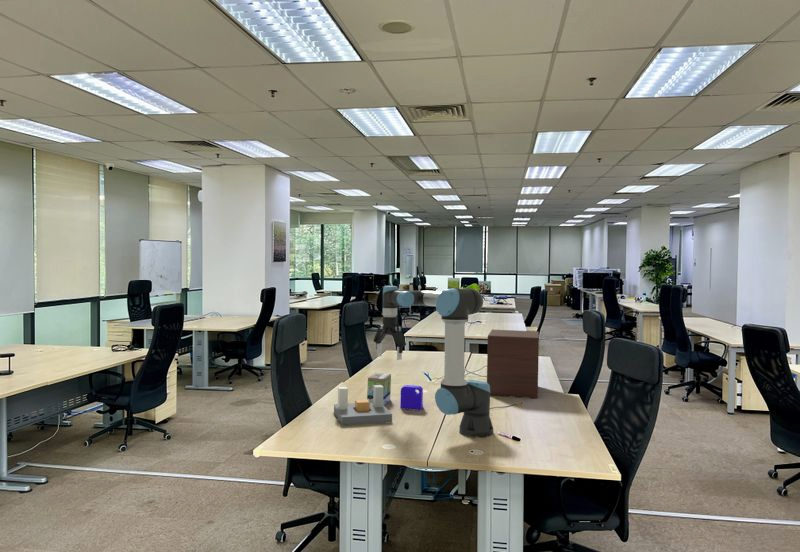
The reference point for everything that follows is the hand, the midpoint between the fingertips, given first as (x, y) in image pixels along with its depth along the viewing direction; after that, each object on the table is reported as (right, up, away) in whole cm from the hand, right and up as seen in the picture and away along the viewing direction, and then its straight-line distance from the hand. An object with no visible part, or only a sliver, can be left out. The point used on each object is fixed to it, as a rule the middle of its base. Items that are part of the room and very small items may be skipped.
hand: (389, 357), depth 270 cm
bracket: (+13, -28, +15) cm, 34 cm away
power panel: (-13, -27, -11) cm, 32 cm away
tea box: (-6, -28, +19) cm, 34 cm away
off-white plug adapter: (-23, -23, -9) cm, 34 cm away
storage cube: (+75, -29, +54) cm, 96 cm away
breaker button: (-13, -24, -11) cm, 30 cm away
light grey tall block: (-5, -24, -4) cm, 24 cm away
